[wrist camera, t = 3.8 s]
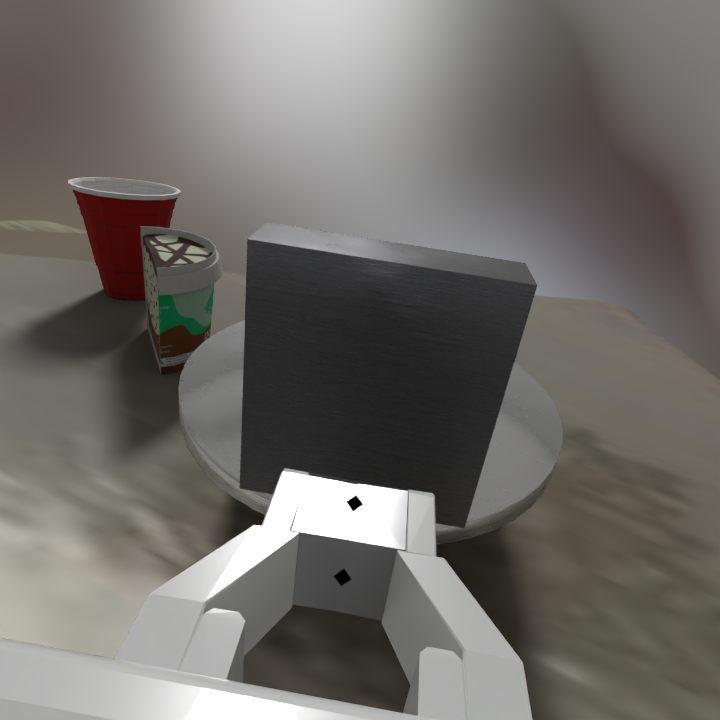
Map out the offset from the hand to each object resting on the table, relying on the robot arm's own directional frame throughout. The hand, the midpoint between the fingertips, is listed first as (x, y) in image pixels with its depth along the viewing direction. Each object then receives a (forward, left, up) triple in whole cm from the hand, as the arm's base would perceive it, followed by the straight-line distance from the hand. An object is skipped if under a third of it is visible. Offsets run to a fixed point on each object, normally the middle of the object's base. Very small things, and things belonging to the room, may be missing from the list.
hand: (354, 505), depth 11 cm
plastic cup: (-18, +53, -18) cm, 58 cm away
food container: (-10, +40, -18) cm, 44 cm away
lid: (+3, +15, -7) cm, 17 cm away
